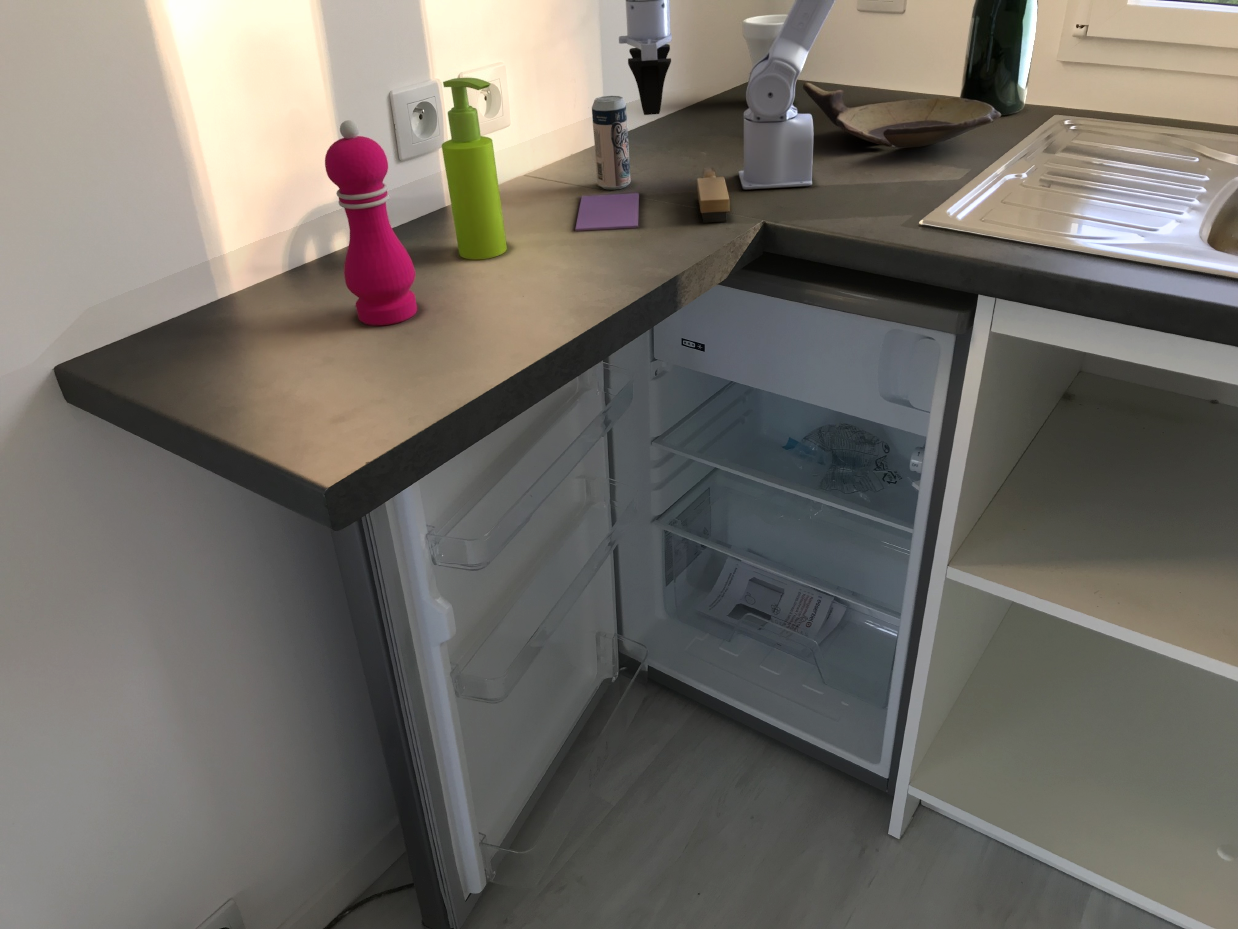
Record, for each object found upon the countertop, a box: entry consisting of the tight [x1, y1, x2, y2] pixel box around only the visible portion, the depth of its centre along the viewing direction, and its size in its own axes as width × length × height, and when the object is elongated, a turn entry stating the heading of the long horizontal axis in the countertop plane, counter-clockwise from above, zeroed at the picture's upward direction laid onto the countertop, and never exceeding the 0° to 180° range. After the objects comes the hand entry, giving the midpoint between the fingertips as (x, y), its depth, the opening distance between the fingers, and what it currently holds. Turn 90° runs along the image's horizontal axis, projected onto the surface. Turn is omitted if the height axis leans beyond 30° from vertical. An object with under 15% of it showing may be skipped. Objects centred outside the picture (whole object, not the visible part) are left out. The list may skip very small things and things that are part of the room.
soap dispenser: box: [441, 77, 508, 261], centre depth 110 cm, size 6×7×20 cm
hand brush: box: [696, 165, 730, 224], centre depth 125 cm, size 4×16×3 cm, turn 179°
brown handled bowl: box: [802, 82, 1002, 148], centre depth 144 cm, size 22×30×8 cm
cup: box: [741, 14, 788, 69], centre depth 170 cm, size 11×11×14 cm
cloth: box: [575, 192, 640, 232], centre depth 125 cm, size 8×14×1 cm, turn 178°
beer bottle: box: [959, 0, 1039, 116], centre depth 150 cm, size 10×10×33 cm
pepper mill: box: [324, 119, 418, 326], centre depth 95 cm, size 7×7×20 cm
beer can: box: [591, 95, 631, 191], centre depth 132 cm, size 5×5×12 cm
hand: (651, 107), depth 130 cm, fingers open, 7 cm apart
